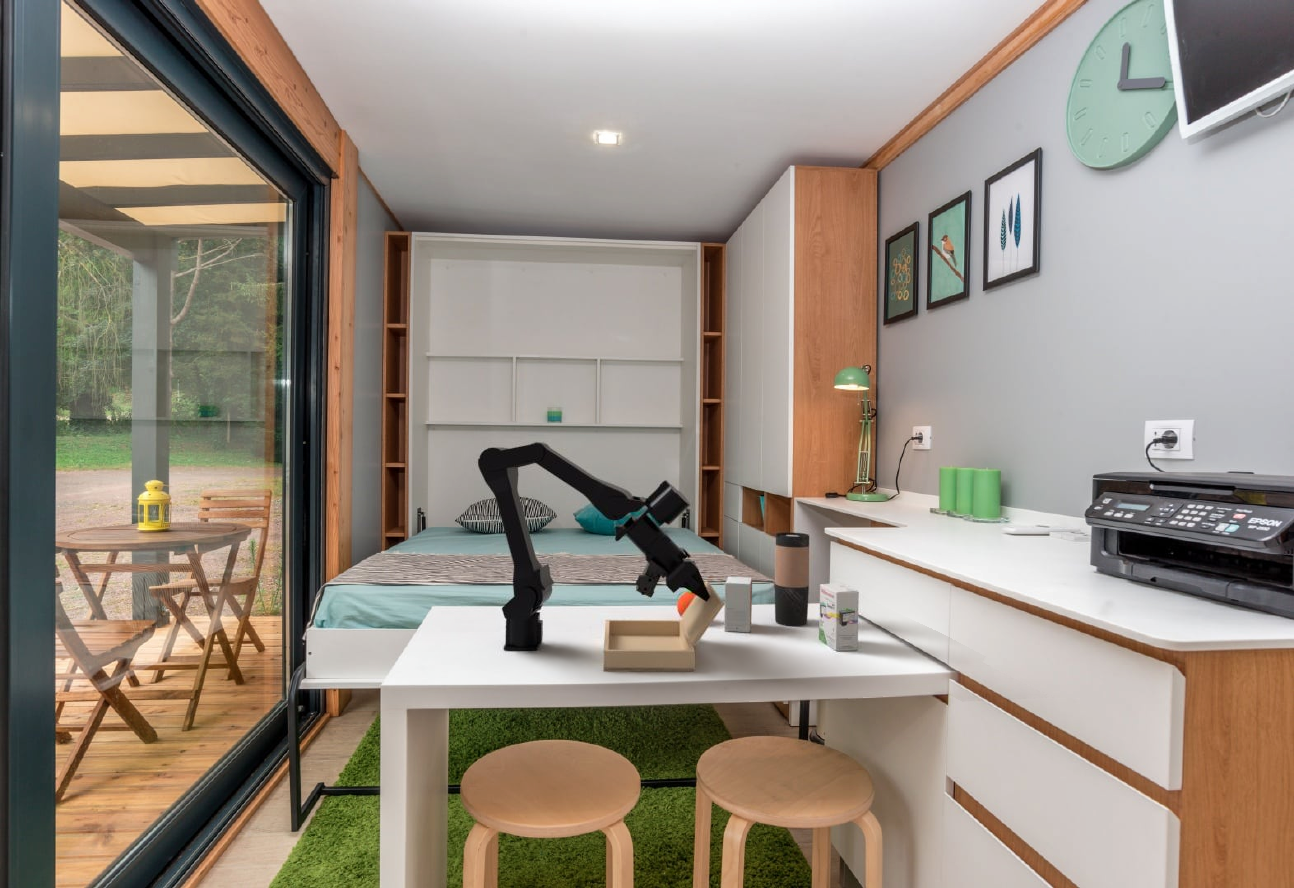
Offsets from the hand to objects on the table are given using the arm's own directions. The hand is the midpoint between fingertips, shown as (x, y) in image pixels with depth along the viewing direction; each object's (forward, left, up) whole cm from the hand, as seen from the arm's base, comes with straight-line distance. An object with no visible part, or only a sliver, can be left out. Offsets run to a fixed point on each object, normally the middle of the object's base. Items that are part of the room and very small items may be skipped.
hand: (708, 599), depth 134 cm
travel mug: (+22, +25, -10) cm, 35 cm away
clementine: (-1, +25, -10) cm, 27 cm away
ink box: (+27, +7, -10) cm, 30 cm away
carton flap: (-4, +1, -6) cm, 7 cm away
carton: (-12, +1, -10) cm, 16 cm away
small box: (+9, +20, -11) cm, 24 cm away
